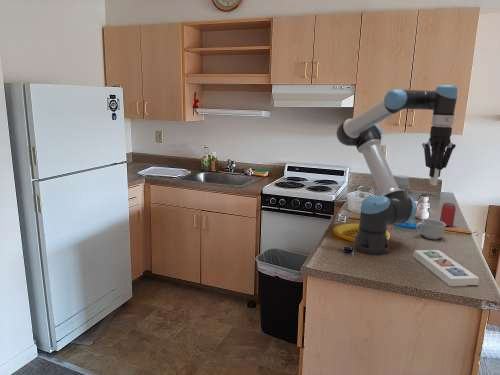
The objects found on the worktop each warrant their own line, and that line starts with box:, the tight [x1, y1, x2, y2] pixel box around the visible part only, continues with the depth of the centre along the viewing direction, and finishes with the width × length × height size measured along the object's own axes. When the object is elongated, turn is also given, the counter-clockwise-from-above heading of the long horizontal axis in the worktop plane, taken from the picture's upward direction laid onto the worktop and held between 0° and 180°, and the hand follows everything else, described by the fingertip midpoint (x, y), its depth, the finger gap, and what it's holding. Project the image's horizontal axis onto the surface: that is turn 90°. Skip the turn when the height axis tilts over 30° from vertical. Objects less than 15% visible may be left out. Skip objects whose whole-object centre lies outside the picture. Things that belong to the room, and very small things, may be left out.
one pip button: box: [426, 251, 440, 258], centre depth 161 cm, size 5×5×3 cm
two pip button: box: [449, 267, 465, 276], centre depth 145 cm, size 5×5×3 cm
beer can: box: [439, 202, 456, 227], centre depth 207 cm, size 7×7×12 cm
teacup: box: [415, 218, 446, 240], centre depth 189 cm, size 14×11×8 cm
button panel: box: [413, 249, 480, 287], centre depth 153 cm, size 11×26×3 cm, turn 6°
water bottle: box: [394, 174, 411, 197], centre depth 211 cm, size 9×8×25 cm
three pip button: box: [437, 259, 452, 267], centre depth 153 cm, size 5×5×3 cm
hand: (433, 184), depth 156 cm, fingers closed
